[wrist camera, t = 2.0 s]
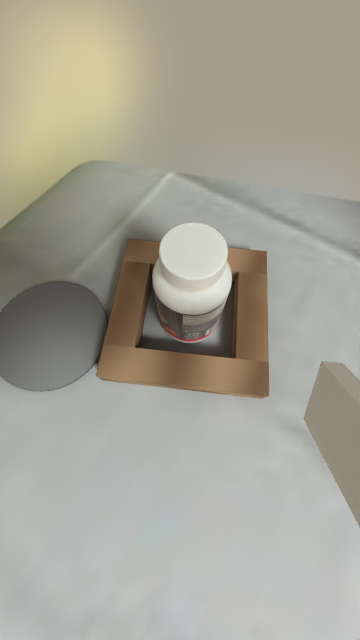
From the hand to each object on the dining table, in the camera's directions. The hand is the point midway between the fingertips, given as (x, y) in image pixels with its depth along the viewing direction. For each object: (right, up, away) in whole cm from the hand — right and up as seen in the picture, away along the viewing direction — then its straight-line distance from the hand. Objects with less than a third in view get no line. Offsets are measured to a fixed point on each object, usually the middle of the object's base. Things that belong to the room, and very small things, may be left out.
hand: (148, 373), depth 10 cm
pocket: (+2, +2, +13) cm, 14 cm away
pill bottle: (+2, +2, +14) cm, 14 cm away
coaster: (-10, +1, +13) cm, 16 cm away
